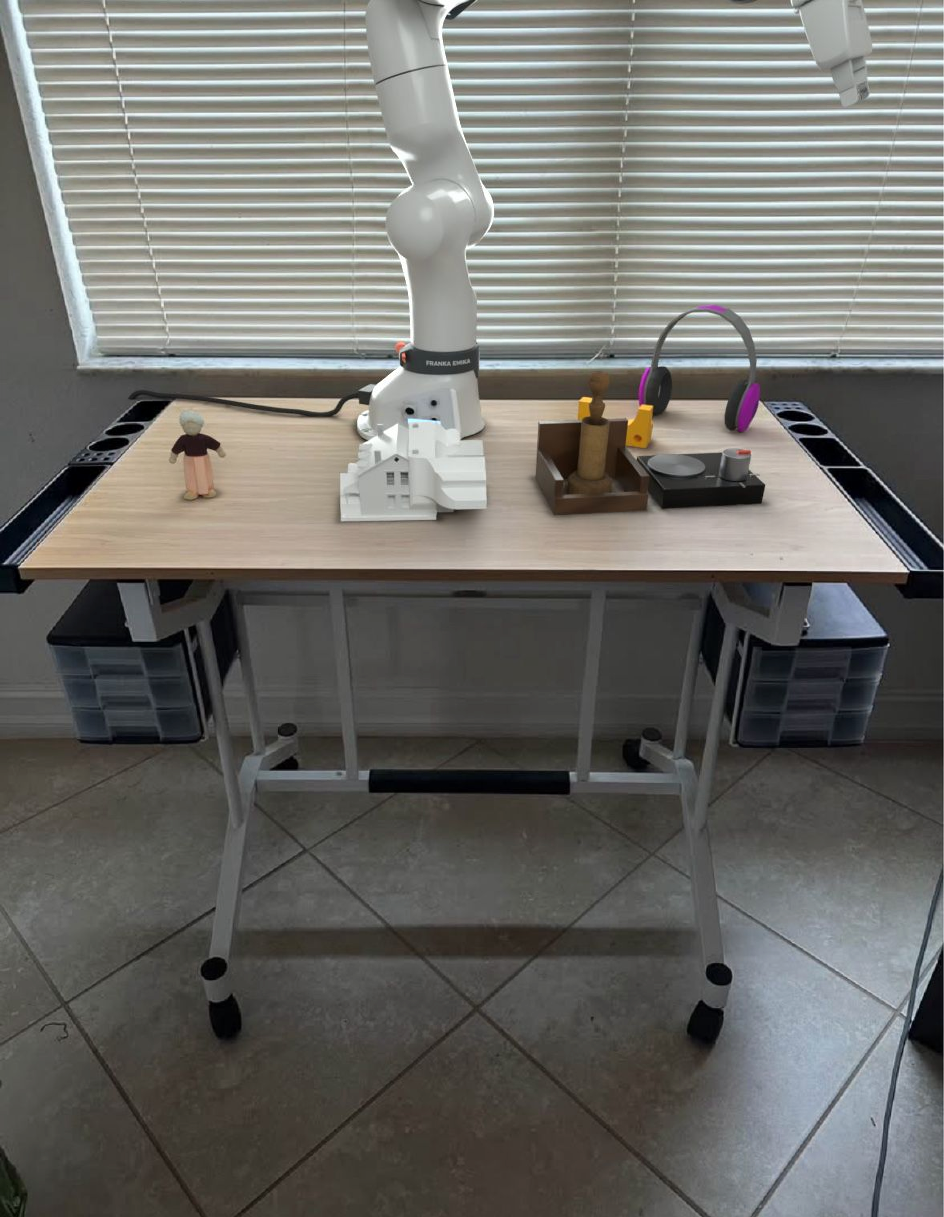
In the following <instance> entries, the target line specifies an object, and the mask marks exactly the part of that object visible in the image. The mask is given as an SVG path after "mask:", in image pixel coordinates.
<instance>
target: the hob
mask: <svg viewBox="0 0 944 1217" xmlns="http://www.w3.org/2000/svg"><path fill="white" fill-rule="evenodd" d="M722 453H723V451H721V452H700V453H699V452H698V453H678V455H685V456H689V457H693V458H696V459H698V460H700V461H701V462H703V463H704V465H705V471H704V472H703V473H702V474H701V475H698V476H694V477H687V478H678V477H670V476H665V475H661V474H658V473H656V472H654V471H652V470H651V469H650V468H649V467H648V460H649V459H650V458H652V457H654V456H657V455H658V454H654V455H652V454H651V455H637V456H636V460H637V461H638V463H639V464H640V465H641V466H642V468H643V469H644V470H645V471H646V473H647V474H648V475H649V483H648V490H647V492H648V494H650V495H651V497H652V498H653V499H654V500H655V501H656V503H657V505H658V506H659V507H660V508H661V510H666V509H685V508H705V507H725V506H726V507H727V506H744V505H762V504H763V499H764V494H765V490H766V483H764V482H763V481H762V480H761V479H760V478H759V477H758V476H761V474H760V473H753V471H751V470H750V469H749V470H748V475H747V479H746V480H743V481H729V480H725V479H723V478H721V477H720V476H719V470H720V464H721V458H722Z"/></svg>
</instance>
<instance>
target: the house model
mask: <svg viewBox="0 0 944 1217" xmlns="http://www.w3.org/2000/svg"><path fill="white" fill-rule="evenodd" d="M377 432H378V435H377V436H375V437H374V438H372V439H370V440H366V441H365V442H363V443H359V447H358V449H359V452H357V459H359V460H357V461H356V462H349V463H348V466H347V472H343V473H342V472H340V473H339V505H340V506H339V507H340V522H383V521H385V522H386V521H387V522H388V521H389V522H392V521H435V520H437V515H438V513H454V512H455V510H487V508H488V507H487V506H488V505H487V504H488V503H487V502H488V498H487V497H488V496H487V471H486V457H485V456H484V444H483V443H484V440H483V439H471V440H470V439H469V440H465V439H463V440H462V439H461V438H460V432H459V431H458V430H456V429H448V430H445V429H444V428H443V427H442V426H441V425H440V424H439V423H438V422H437V421H435V422H434V423H433V421H416V422H409V429H408V428H406V427H404V426H402V425H400V424H396V425H394V426H393V427H391V428H389V429H387V430H386V431H384V432H383V424H377ZM360 451H361V452H360Z"/></svg>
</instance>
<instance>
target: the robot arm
mask: <svg viewBox="0 0 944 1217" xmlns="http://www.w3.org/2000/svg"><path fill="white" fill-rule="evenodd" d="M477 1H478V0H369V1H368V4H367V6H366V9H365V15H364V18H365V32H366V43H367V50H368V57H369V64H370V69H371V74H372V78H373V84H374V88H375V92H376V96H377V101H378V104H379V109H380V113H381V117H382V122H383V126H384V130H385V134H386V138H387V142H388V144H389V146H390V148H391V150H392V152H393V153H395V154H396V156H397V157H398V159H399V161H401V163H402V166H403V167H404V169H405V172H406V174H407V176H408V178H409V181H410V183H411V185H410V186H408V187H407V188H406V189H405V190H403V191H402V192H400V193H399V195H398V196H397V197H395V198H394V199H393V200H392V201H391V203H390V205H389V207H388V209H387V211H386V215H385V233H386V236H387V239H388V241H389V243H390V245H391V247H392V248H393V249H394V251H395V252H396V253H397V254H398V258H399V260H400V264H401V267H402V271H403V275H404V278H405V283H406V287H407V288H406V289H407V293H408V301H409V302H408V303H409V324H410V342H409V343H407V344H406V343H405V341H397V342H396V344H395V347H394V349H395V353H396V354H397V355H398V356H399V357H398V359H399V360H398V361H399V367H397V368H396V369H395V370H394V371H392V372H391V373H390V374H389V375H387V376H386V377H385V378H383V379H382V380H381V381H380V382H378V383H377V384H373V383H370V384H368V385H366V386H363V387H362V388H360V389H359V390H358V391H356V392H352V393H349V394H346V395H345V396H343V397H341V398H340V400H339V401H338V402H337V404H336V406H335V407H334V408H333V409H331V410H329V411H323V412H321V411H312V410H307V409H306V410H305V409H299V408H287V407H278V406H277V407H276V406H270V405H269V406H268V405H261V404H255V403H248V402H243V401H237V400H231V399H224V398H218V397H212V396H211V397H210V396H202V395H194V394H181V393H167V392H166V393H165V392H157V391H153V390H147V389H138V390H135V391H134V392H132V393H131V394H130V395H129V396H128V398H127V400H134V399H136V398H137V397H139V396H147V397H153V398H158V399H170V400H171V399H172V400H173V399H174V400H186V401H195V402H196V401H197V402H205V403H213V404H217V405H218V404H219V405H225V406H232V407H236V408H237V407H238V408H244V409H249V410H257V411H263V412H271V413H279V414H289V415H299V416H306V417H312V418H313V417H315V418H316V417H317V418H325V417H326V418H328V417H333V416H335V415H337V414H339V412H340V411H342V408H343V406H344V404H345V403H347V402H348V401H350V400H353V399H358V404H359V405H364V406H368V410H365V411H363V412H362V413H360V414H359V415H358V417H357V420H356V431H357V433H358V435H359V436H360V437H361V438H363V439H364V440H366V441H368V440H370V439H372V438H374V437H375V436H377V435H378V432H377V424H383V432H384V431H386V430H387V429H389V428H391V427H393V426H394V425H396V424H400V425H402V426H404V427H406V428H408V429H409V422H416V421H433V423H434V422H435V421H437V422H438V423H439V424H440V425H441V426H442V427H443V428H444V429H445V430H448V429H456V430H458V431H459V432H460V438H461V440H462V439H463V438H466V437H469V436H472V435H475V434H478V433H479V432H481V431H482V430H483V429H484V428H485V426H486V423H485V419H484V416H483V412H482V406H481V402H480V395H479V394H480V393H479V383H478V378H479V375H480V374H479V373H480V366H481V364H480V363H481V361H480V360H481V359H480V358H481V357H480V356H481V355H480V354H481V353H480V345H479V344H478V342H477V332H478V329H477V327H478V325H477V321H478V320H477V319H478V297H477V293H476V291H475V289H474V288H473V286H472V283H471V280H470V275H469V270H468V263H467V256H466V254H467V250H468V249H471V248H473V247H475V246H476V245H477V244H478V243H480V242H481V240H483V238H484V237H485V236H486V234H488V232H489V230H490V228H491V226H492V224H493V221H494V216H495V207H494V202H493V198H492V196H491V194H490V192H489V191H488V189H487V188H486V187H485V185H484V184H483V182H482V180H481V177H480V174H479V172H478V170H477V167H476V164H475V162H474V159H473V157H472V154H471V151H470V149H469V147H468V144H467V141H466V138H465V136H464V133H463V129H462V126H461V123H460V119H459V113H458V109H457V105H456V100H455V95H454V90H453V84H452V82H451V76H450V70H449V67H448V61H447V57H446V52H445V47H444V42H443V25H444V21H445V20H448V21H452V20H454V19H456V18H457V17H458V16H459V15H460V14H462V13H463V12H464V11H465V10H467V9H468V8H469V7H470V6H472V5H473V4H474V3H476V2H477ZM727 1H728V2H730V3H733V4H737V5H746V4H751V3H754V2H756V1H758V0H727ZM790 4H791V7H792V9H793V12H794V14H795V15H799V16H800V19H801V23H802V27H803V29H804V30H803V31H804V32H805V36H806V38H807V42H808V45H809V48H810V51H811V55H812V57H813V60H814V62H815V64H816V67H817V68H818V70H819V71H821V72H825V71H829V70H830V73H831V78H832V81H833V84H834V85H835V88H836V90H837V92H838V93H837V94H838V95H839V100H840V103H841V106H842V107H843V108H848V107H850V106H852V105H854V104H856V103H858V102H860V101H863V100H865V99H867V98H869V96H870V94H871V91H870V86H869V81H868V66H867V65H868V64H867V61H866V57H867V56H869V55H871V54H872V53H873V41H872V36H871V32H870V28H869V22H868V18H867V15H866V11H865V7H864V3H863V0H790Z"/></svg>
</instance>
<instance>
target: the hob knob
mask: <svg viewBox="0 0 944 1217" xmlns="http://www.w3.org/2000/svg"><path fill="white" fill-rule="evenodd" d="M722 452H723V453H722V458H721V464H720V470H719V476H720V477H721V478H723V479H725V480H729V481H743V480H746V479H747V475H748V470H750V464H751V460H752V451H751V450H750V449H746V450H745V449H743V448H725V449H723V451H722Z"/></svg>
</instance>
